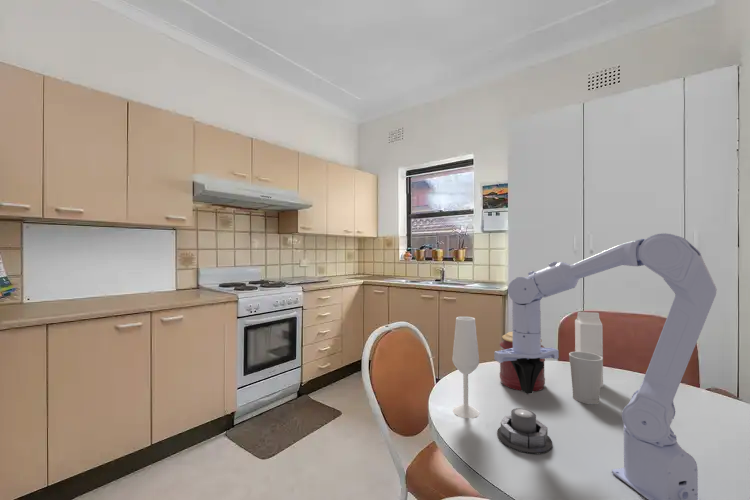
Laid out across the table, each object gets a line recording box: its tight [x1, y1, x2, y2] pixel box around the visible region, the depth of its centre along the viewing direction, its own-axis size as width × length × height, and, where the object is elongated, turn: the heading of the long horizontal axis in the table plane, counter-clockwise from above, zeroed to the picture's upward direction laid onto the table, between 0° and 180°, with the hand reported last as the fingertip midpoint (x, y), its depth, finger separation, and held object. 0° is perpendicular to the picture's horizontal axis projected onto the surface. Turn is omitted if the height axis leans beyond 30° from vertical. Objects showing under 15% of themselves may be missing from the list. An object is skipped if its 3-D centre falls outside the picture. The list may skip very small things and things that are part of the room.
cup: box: [568, 351, 604, 405], centre depth 93 cm, size 8×8×12 cm
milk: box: [574, 311, 604, 388], centre depth 105 cm, size 6×6×22 cm
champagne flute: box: [451, 316, 480, 419], centre depth 86 cm, size 7×7×24 cm
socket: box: [496, 415, 553, 455], centre depth 74 cm, size 11×11×3 cm
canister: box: [498, 330, 546, 392], centre depth 104 cm, size 13×13×18 cm
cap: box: [510, 407, 537, 434], centre depth 74 cm, size 5×5×5 cm
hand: (526, 392), depth 75 cm, fingers closed
